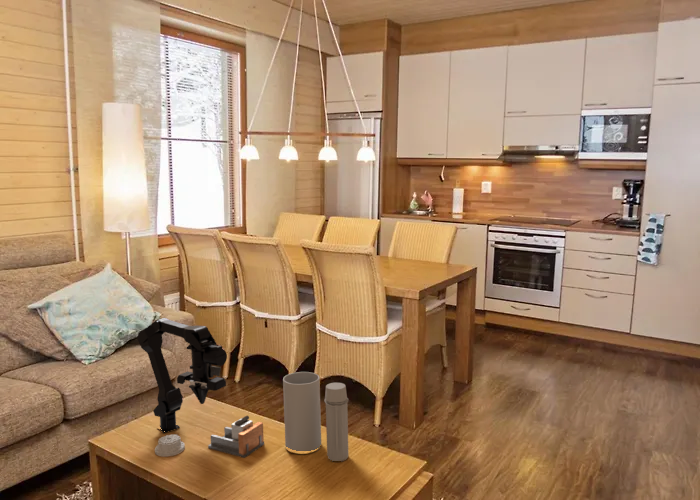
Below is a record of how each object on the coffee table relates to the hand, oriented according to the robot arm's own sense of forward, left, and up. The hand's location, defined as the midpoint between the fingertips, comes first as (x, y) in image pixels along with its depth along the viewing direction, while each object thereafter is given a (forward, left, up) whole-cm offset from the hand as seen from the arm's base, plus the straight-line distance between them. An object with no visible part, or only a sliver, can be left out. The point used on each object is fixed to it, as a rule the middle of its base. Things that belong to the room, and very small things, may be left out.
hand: (202, 403), depth 203 cm
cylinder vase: (+31, +22, -13) cm, 40 cm away
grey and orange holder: (+14, +5, -13) cm, 20 cm away
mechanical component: (0, -13, -14) cm, 19 cm away
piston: (+17, +6, -12) cm, 21 cm away
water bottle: (+46, +25, -13) cm, 54 cm away
